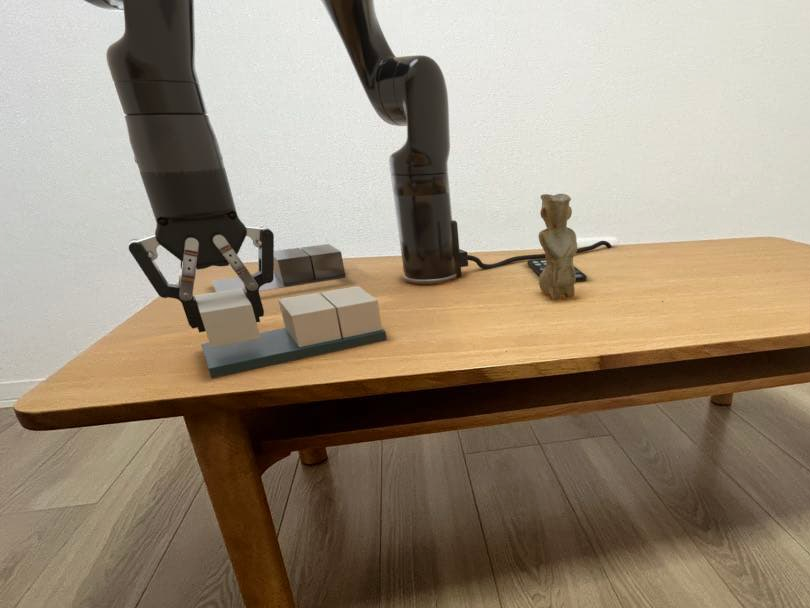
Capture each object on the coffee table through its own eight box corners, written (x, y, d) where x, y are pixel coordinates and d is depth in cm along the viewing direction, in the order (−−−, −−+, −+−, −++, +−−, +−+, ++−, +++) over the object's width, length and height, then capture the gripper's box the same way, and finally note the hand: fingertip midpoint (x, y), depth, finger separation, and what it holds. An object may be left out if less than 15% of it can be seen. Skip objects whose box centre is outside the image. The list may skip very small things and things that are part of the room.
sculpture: (567, 287, 89) (568, 190, 82) (582, 299, 83) (585, 196, 76) (534, 290, 88) (532, 192, 81) (546, 303, 82) (545, 198, 74)
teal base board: (365, 321, 76) (358, 284, 73) (387, 339, 69) (380, 300, 67) (204, 353, 66) (190, 312, 64) (211, 378, 59) (196, 334, 57)
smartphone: (546, 280, 90) (525, 260, 103) (546, 284, 91) (526, 263, 103) (588, 276, 92) (562, 257, 105) (588, 280, 92) (562, 260, 105)
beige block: (250, 319, 67) (241, 288, 65) (260, 338, 61) (251, 304, 59) (204, 327, 65) (194, 295, 63) (211, 347, 59) (199, 312, 57)
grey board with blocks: (331, 270, 102) (325, 242, 100) (350, 284, 93) (344, 253, 91) (212, 287, 92) (203, 257, 90) (220, 305, 84) (210, 271, 81)
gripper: (92, 172, 48) (158, 348, 56) (265, 164, 55) (301, 322, 63) (97, 167, 54) (156, 328, 62) (253, 160, 61) (288, 306, 69)
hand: (229, 324), depth 62 cm, fingers closed on beige block, 5 cm apart
